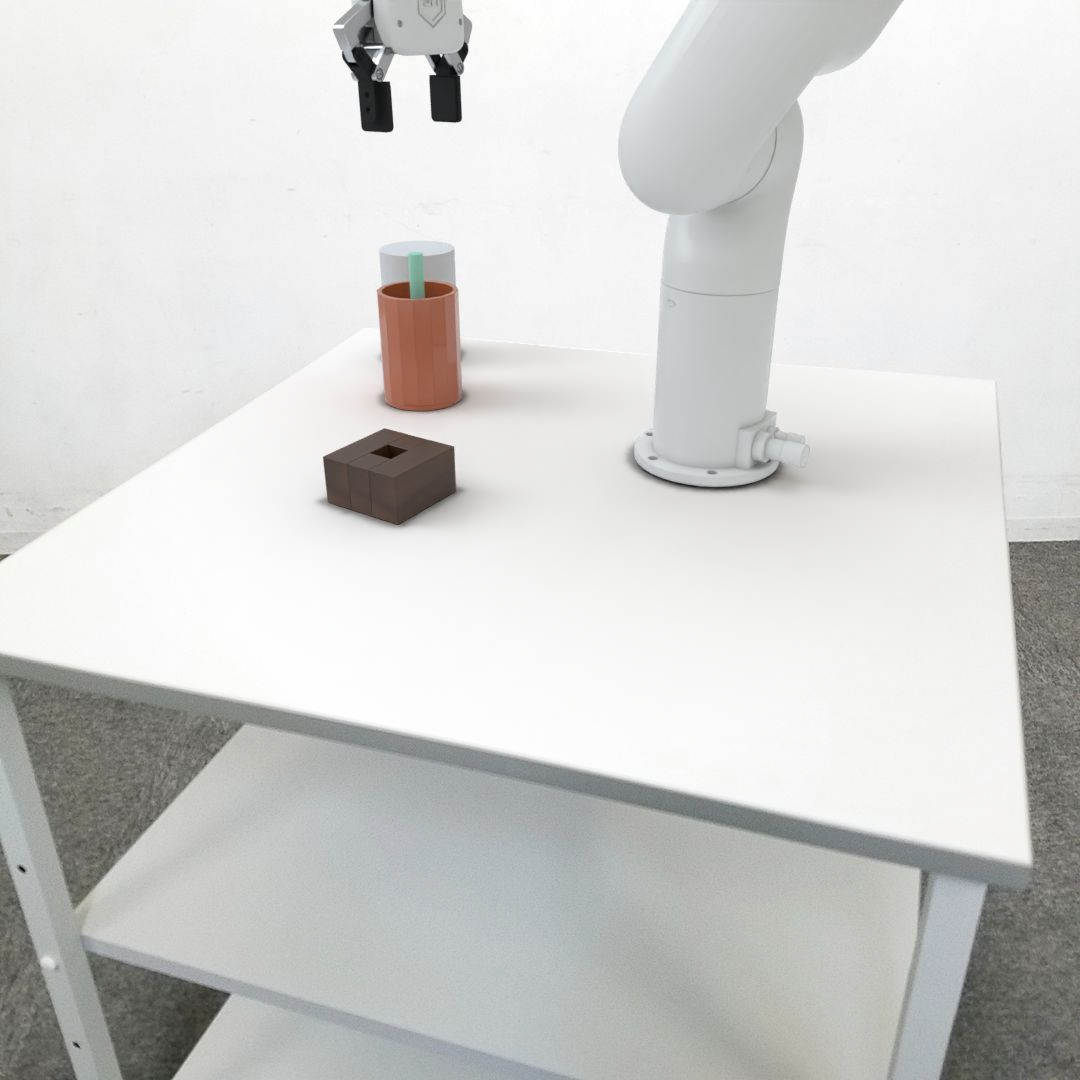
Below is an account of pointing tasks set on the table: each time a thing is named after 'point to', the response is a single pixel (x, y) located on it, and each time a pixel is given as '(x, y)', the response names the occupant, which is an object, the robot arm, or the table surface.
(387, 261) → the light grey cylinder
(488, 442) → the table surface
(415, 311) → the tumbler
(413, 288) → the straw
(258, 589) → the table surface
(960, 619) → the table surface
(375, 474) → the holder
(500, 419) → the table surface
